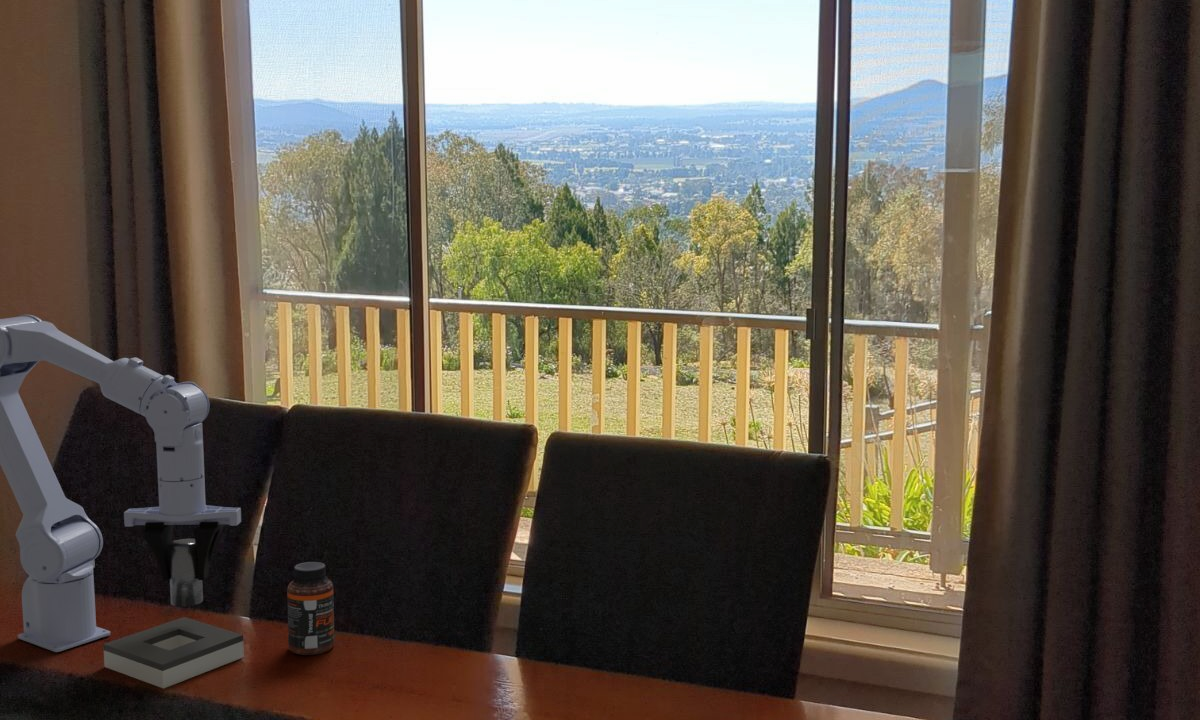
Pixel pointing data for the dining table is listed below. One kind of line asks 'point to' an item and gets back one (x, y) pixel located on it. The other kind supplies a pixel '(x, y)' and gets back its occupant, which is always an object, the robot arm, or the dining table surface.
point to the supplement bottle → (310, 610)
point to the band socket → (173, 651)
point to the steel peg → (184, 573)
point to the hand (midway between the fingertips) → (185, 578)
